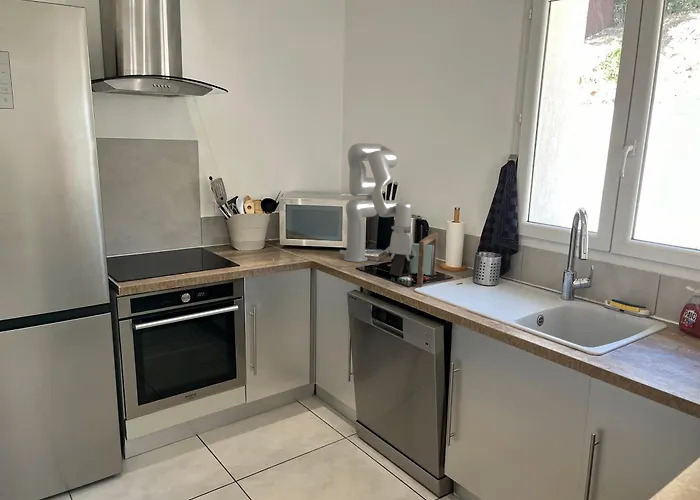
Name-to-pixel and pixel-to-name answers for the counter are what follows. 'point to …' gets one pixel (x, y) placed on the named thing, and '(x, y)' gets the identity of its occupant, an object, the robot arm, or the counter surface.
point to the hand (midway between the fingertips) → (400, 267)
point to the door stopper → (399, 266)
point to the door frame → (422, 243)
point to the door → (427, 259)
